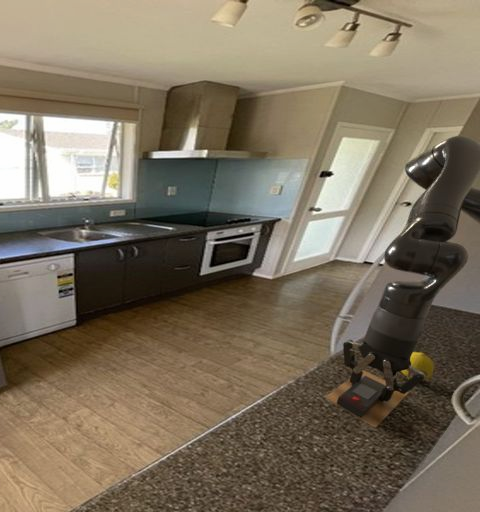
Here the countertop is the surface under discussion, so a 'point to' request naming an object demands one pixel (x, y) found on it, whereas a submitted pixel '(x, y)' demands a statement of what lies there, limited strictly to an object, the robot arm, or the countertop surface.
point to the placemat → (378, 409)
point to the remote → (361, 396)
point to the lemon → (421, 364)
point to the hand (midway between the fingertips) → (368, 392)
